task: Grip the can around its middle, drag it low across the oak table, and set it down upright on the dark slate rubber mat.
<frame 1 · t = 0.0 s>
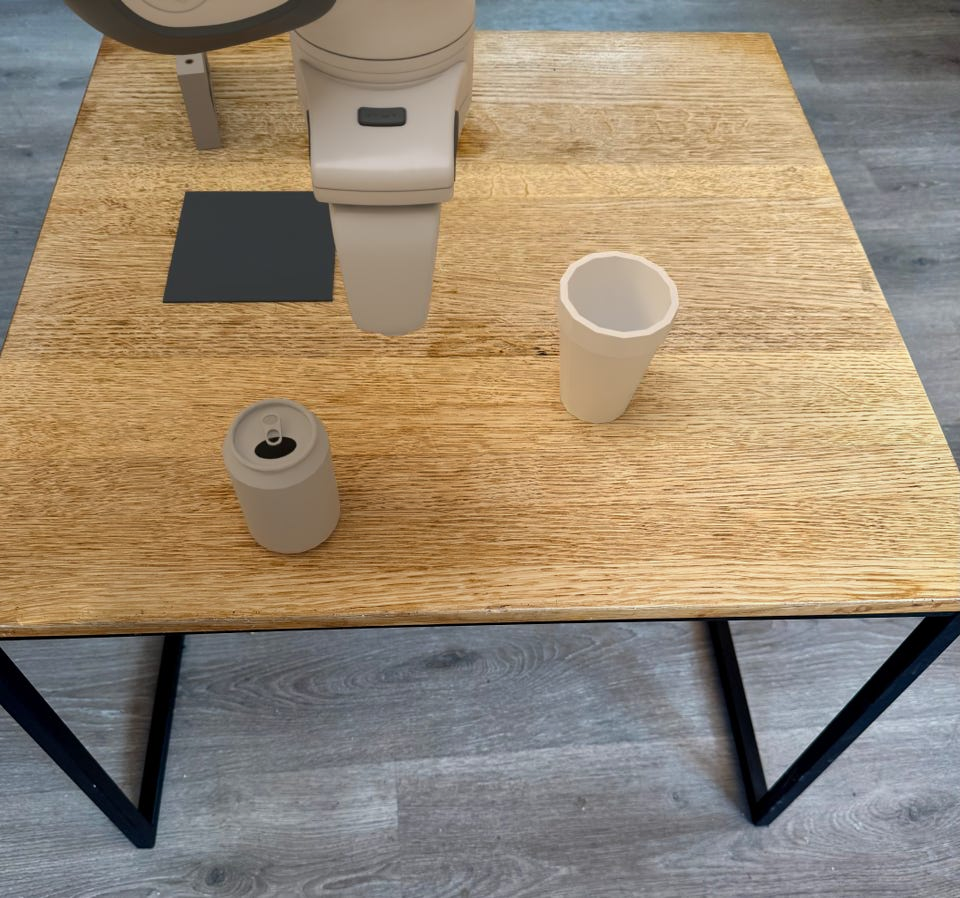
hand: (394, 270, 55), 23 cm above the table, tool pointing down, fingers open, 8 cm apart
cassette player: (204, 108, 101), on the table
can: (295, 518, 71), on the table
mat: (255, 244, 88), on the table
foam cup: (593, 396, 79), on the table
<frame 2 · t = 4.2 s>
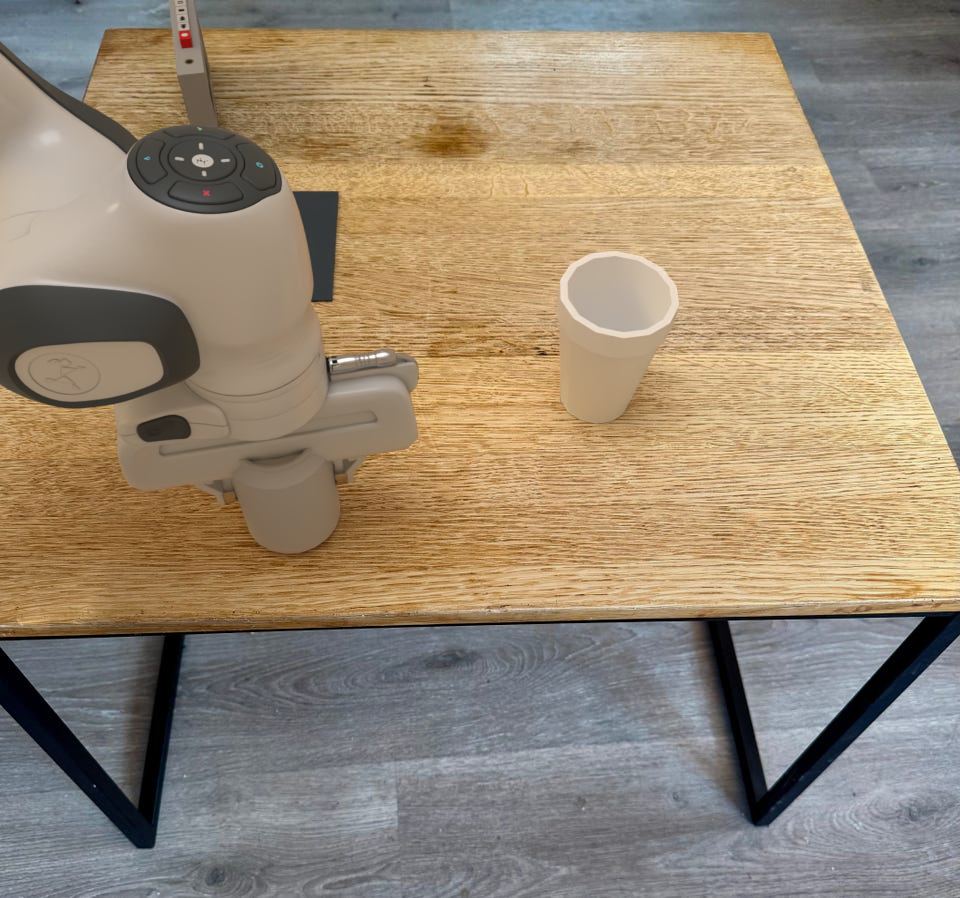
hand: (286, 486, 67), 5 cm above the table, tool pointing down, fingers closed on can, 7 cm apart
can: (295, 518, 71), on the table, touching gripper
everything else where it was.
when the fingers open (5 cm above the table, at t = 12.3 s): can stays where it is, resting on mat.
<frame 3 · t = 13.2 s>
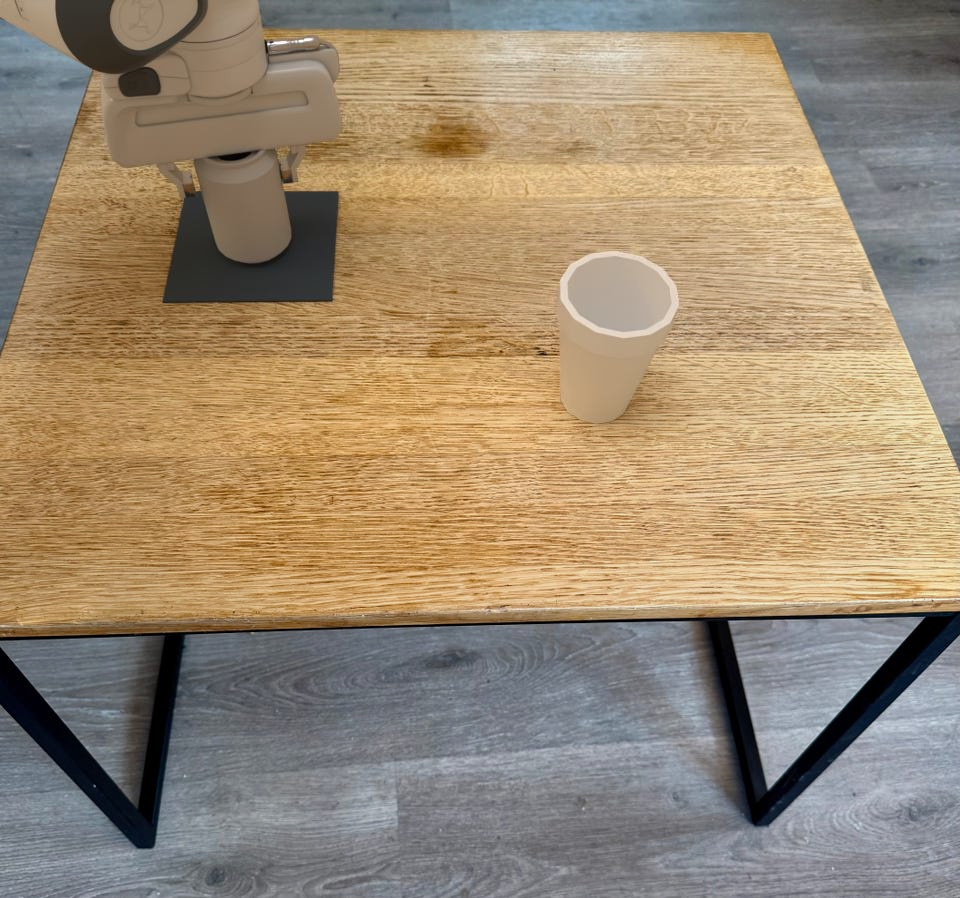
hand: (239, 186, 82), 7 cm above the table, tool pointing down, fingers open, 8 cm apart
can: (255, 244, 88), resting on mat
everything else where it was.
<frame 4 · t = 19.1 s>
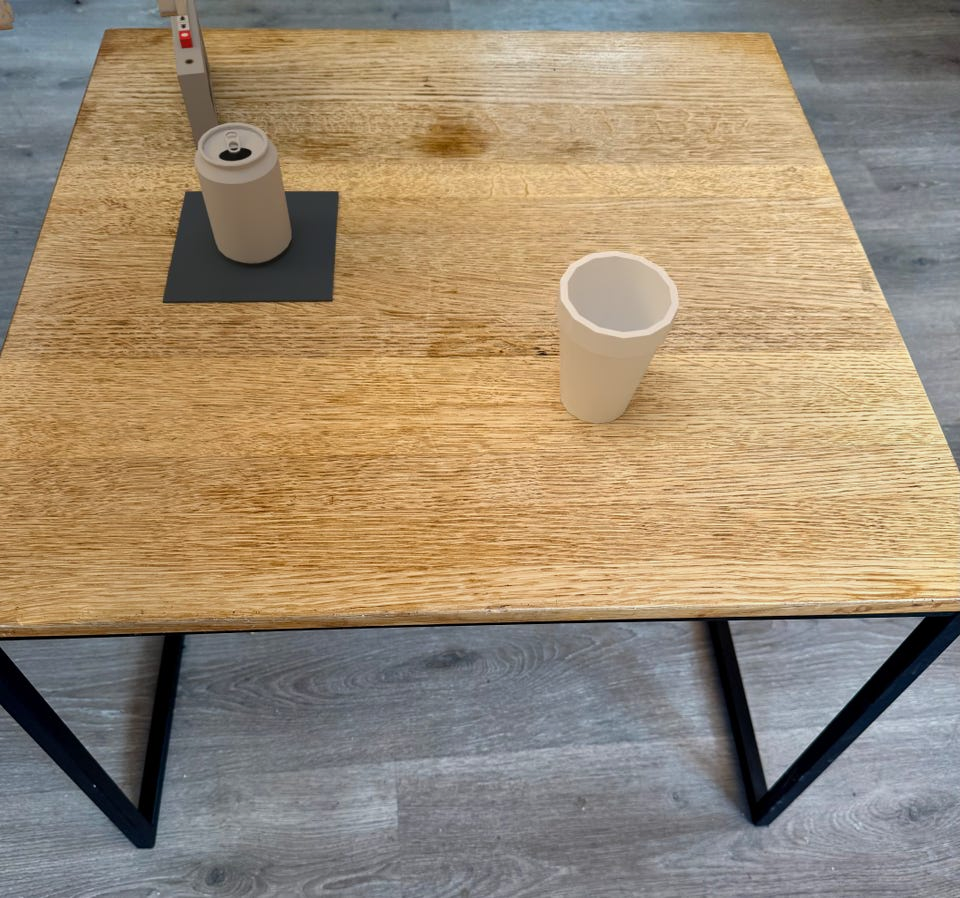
hand: (88, 18, 50), 34 cm above the table, tool pointing down, fingers open, 8 cm apart
nothing on the table moved.
at the end: can inside the target area on the mat (0.1 cm from its centre), point 0.0 cm above the mat's base; can tilted 0°; the gripper is holding nothing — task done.
